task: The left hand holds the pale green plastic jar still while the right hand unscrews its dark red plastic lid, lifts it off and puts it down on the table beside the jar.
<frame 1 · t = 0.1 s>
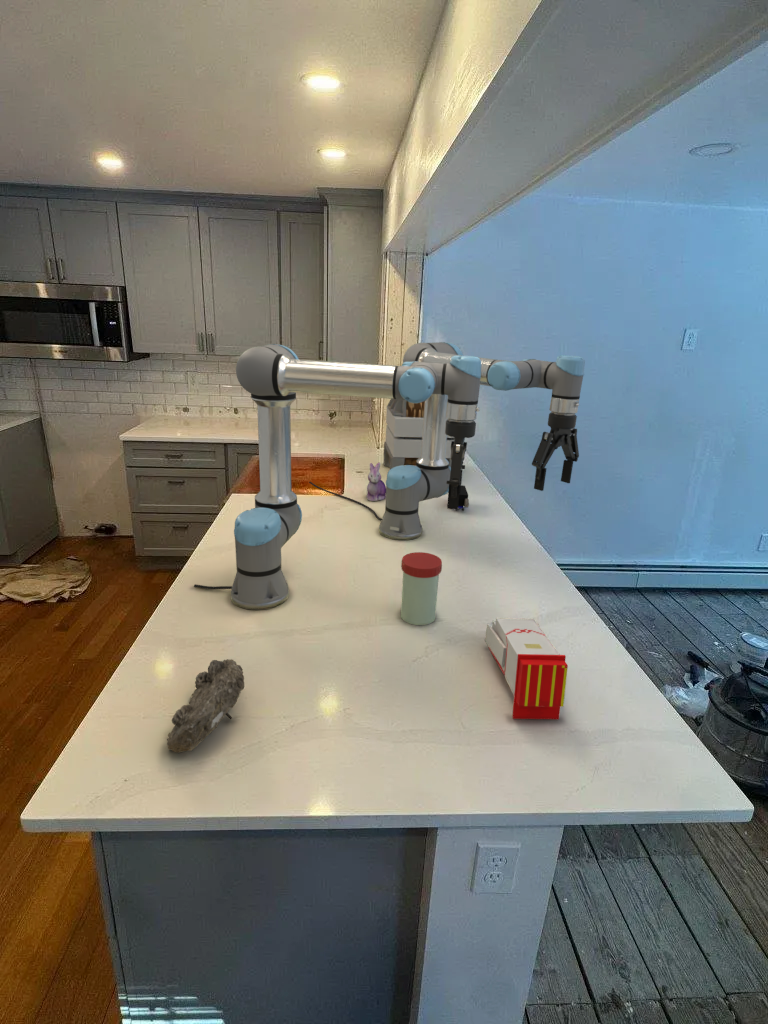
left hand: (453, 500, 149), 28 cm above the counter, tool pointing down, fingers open, 13 cm apart
right hand: (552, 485, 166), 28 cm above the counter, tool pointing down, fingers open, 13 cm apart
feather: (283, 517, 211), on the counter
toy: (517, 677, 124), on the counter
grey slatted crate: (419, 473, 275), on the counter
fossil: (212, 717, 108), on the counter
jar: (417, 616, 147), on the counter
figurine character: (458, 507, 230), on the counter
lid: (421, 561, 142), point 16 cm above the counter, screwed on, not yet turned
figurine: (375, 498, 236), on the counter
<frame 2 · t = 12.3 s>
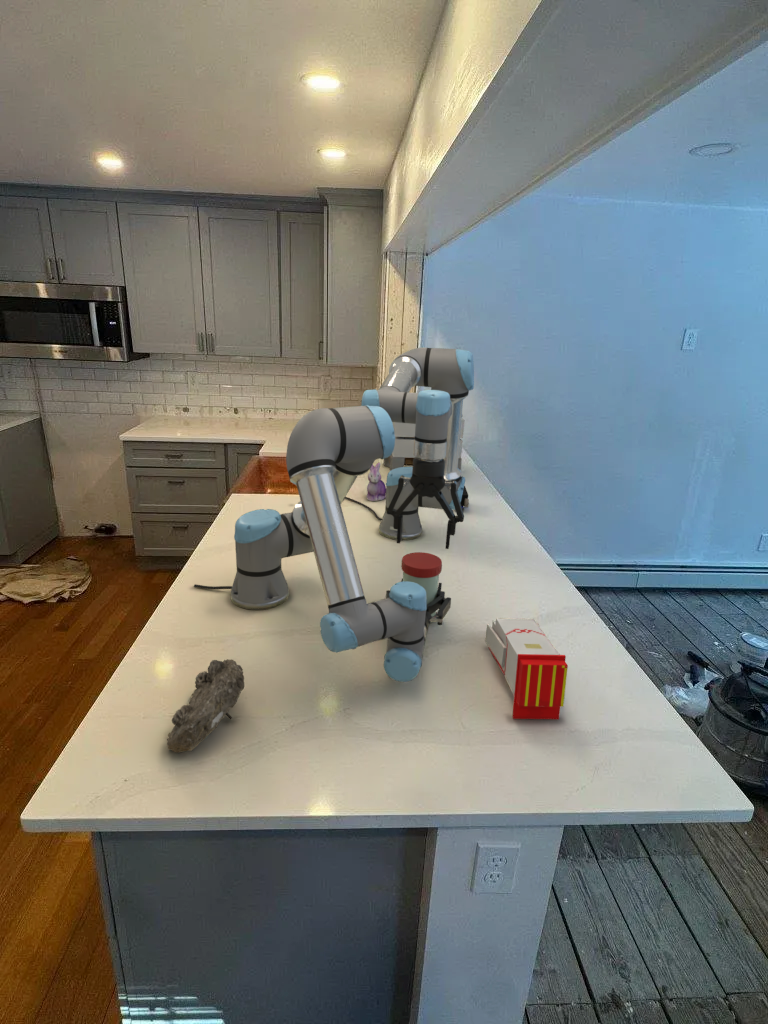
left hand: (421, 585, 149), 7 cm above the counter, tool horizontal, fingers closed on jar, 9 cm apart
right hand: (423, 544, 140), 20 cm above the counter, tool pointing down, fingers open, 11 cm apart
jar: (417, 616, 147), on the counter, touching left hand
everything else where it was.
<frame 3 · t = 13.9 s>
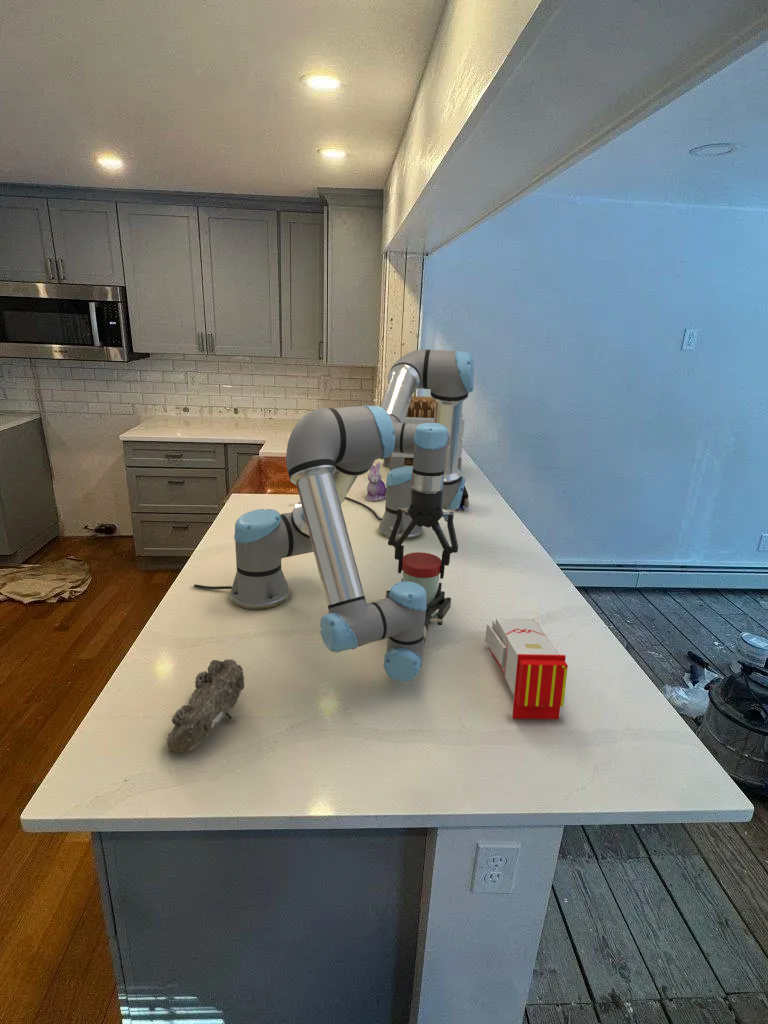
left hand: (421, 585, 149), 7 cm above the counter, tool horizontal, fingers closed on jar, 9 cm apart
right hand: (420, 573, 143), 12 cm above the counter, tool pointing down, fingers closed on lid, 10 cm apart
jar: (417, 616, 147), on the counter, touching left hand
lid: (421, 561, 142), point 16 cm above the counter, screwed on, not yet turned, touching right hand
everything else where it was.
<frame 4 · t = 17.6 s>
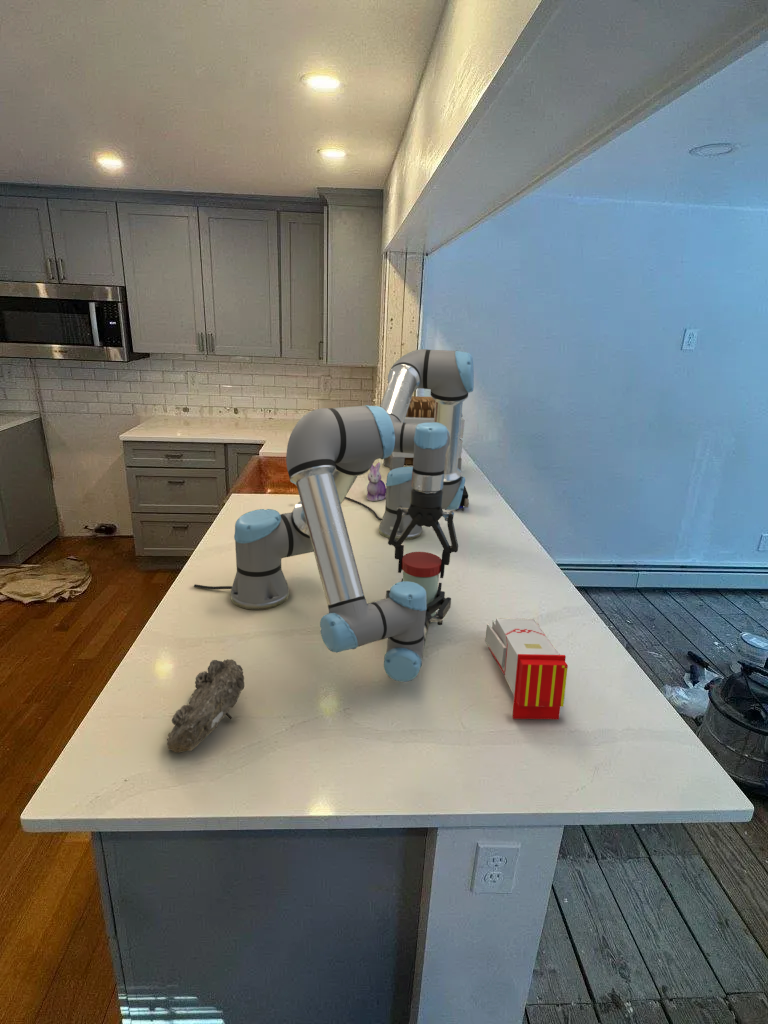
left hand: (421, 585, 149), 7 cm above the counter, tool horizontal, fingers closed on jar, 9 cm apart
right hand: (421, 573, 143), 12 cm above the counter, tool pointing down, fingers closed on lid, 10 cm apart
jar: (417, 616, 147), on the counter, touching left hand
lid: (421, 561, 142), point 16 cm above the counter, turned 126° so far, risen 0.2 cm, still on its thread, touching right hand
everything else where it was.
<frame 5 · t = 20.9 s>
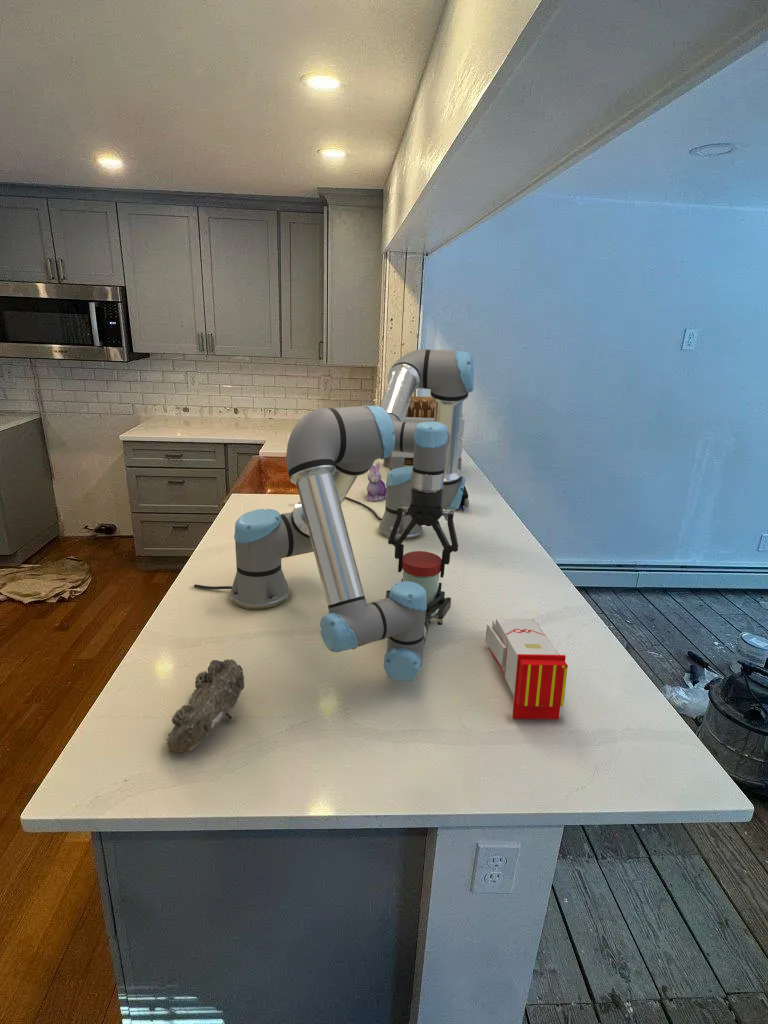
left hand: (421, 585, 149), 7 cm above the counter, tool horizontal, fingers closed on jar, 9 cm apart
right hand: (421, 572, 143), 13 cm above the counter, tool pointing down, fingers closed on lid, 10 cm apart
jar: (417, 616, 147), on the counter, touching left hand
lid: (421, 560, 142), point 16 cm above the counter, turned 252° so far, risen 0.3 cm, still on its thread, touching right hand
everything else where it was.
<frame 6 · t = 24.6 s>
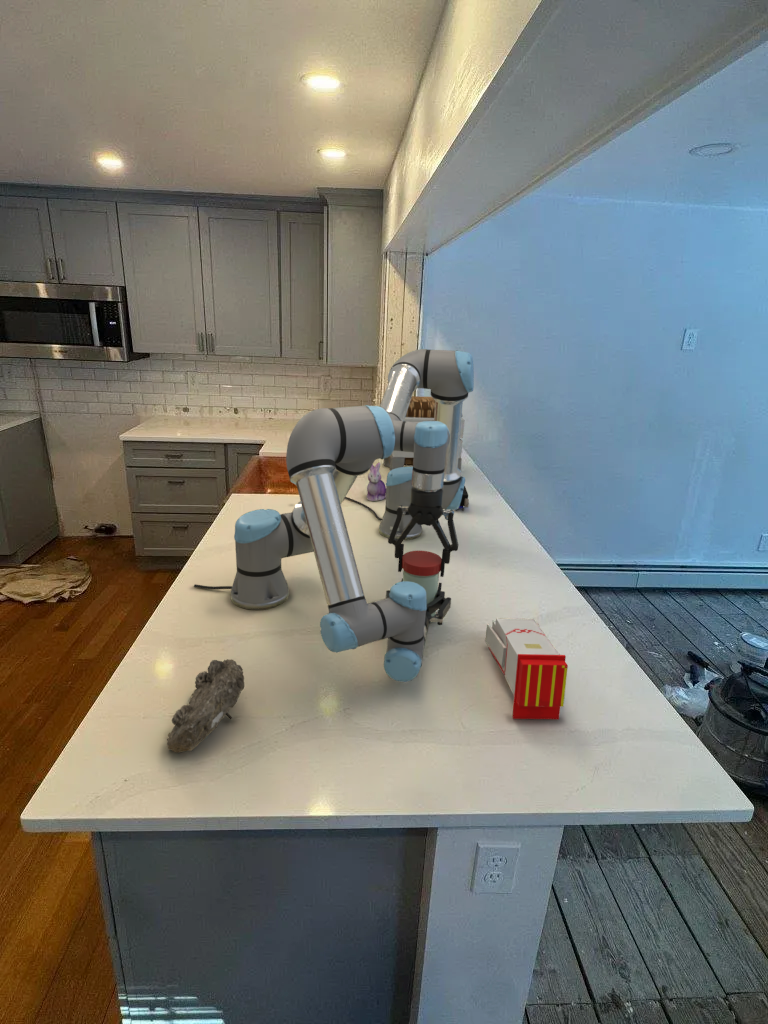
left hand: (421, 585, 149), 7 cm above the counter, tool horizontal, fingers closed on jar, 9 cm apart
right hand: (421, 572, 143), 13 cm above the counter, tool pointing down, fingers closed on lid, 10 cm apart
jar: (417, 616, 147), on the counter, touching left hand
lid: (422, 559, 141), point 16 cm above the counter, turned 378° so far, risen 0.5 cm, still on its thread, touching right hand
everything else where it was.
when the right hand's fingers open (0 cm above the counter, at t = 30.5 s): lid drops 1 cm, point 2 cm above the counter.
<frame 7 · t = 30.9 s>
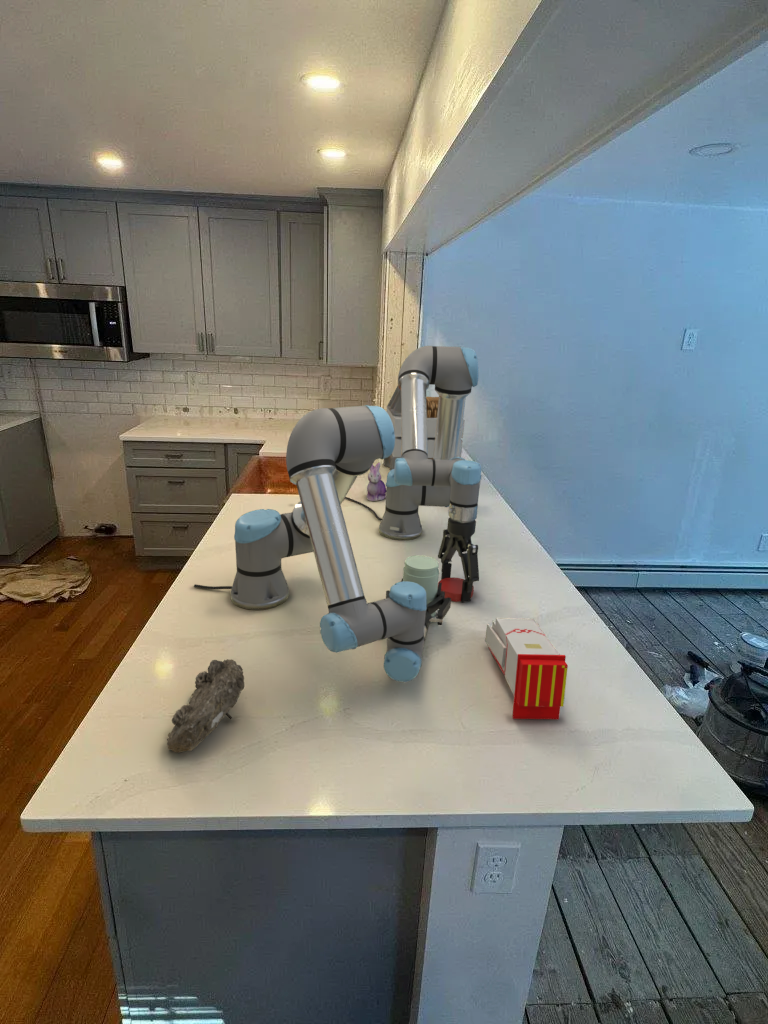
left hand: (421, 585, 149), 7 cm above the counter, tool horizontal, fingers closed on jar, 9 cm apart
right hand: (455, 592, 160), 0 cm above the counter, tool pointing down, fingers open, 10 cm apart
jar: (417, 616, 147), on the counter, touching left hand
lid: (455, 586, 159), point 2 cm above the counter, off its thread, touching right hand
everything else where it was.
when the left hand's fingers open (7 cm above the counter, at t = 32.1 s): jar stays where it is, on the counter.
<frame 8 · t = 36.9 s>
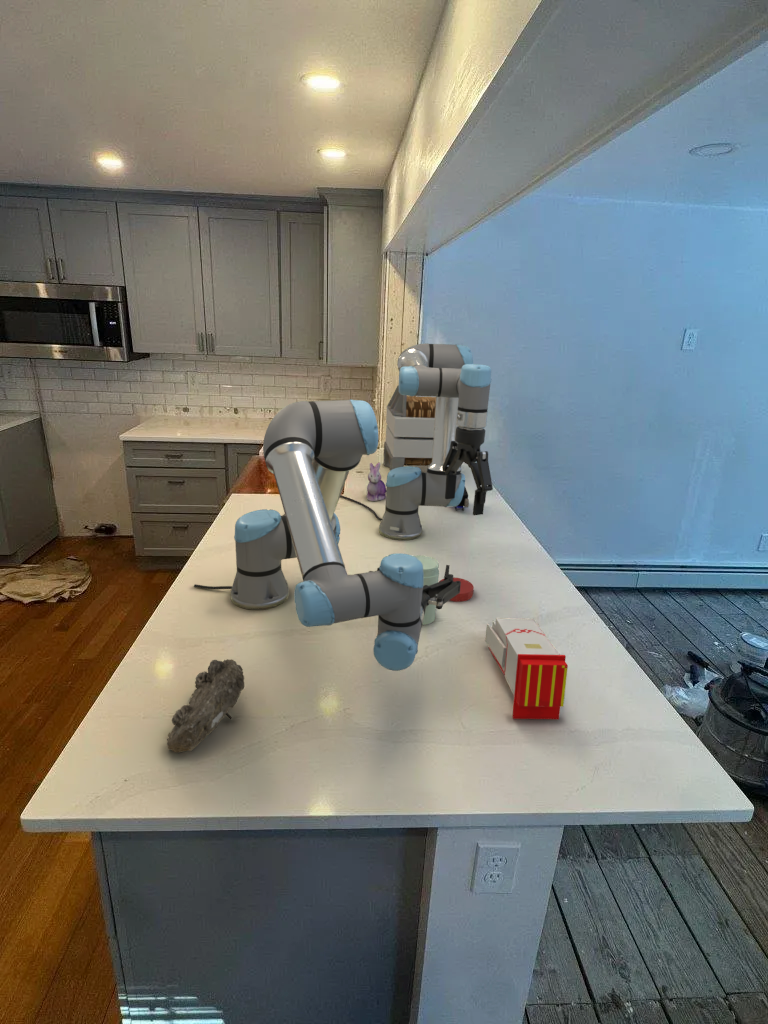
left hand: (418, 566, 131), 19 cm above the counter, tool horizontal, fingers open, 13 cm apart
right hand: (463, 506, 151), 26 cm above the counter, tool pointing down, fingers open, 13 cm apart
jar: (417, 616, 147), on the counter
lid: (455, 586, 159), point 2 cm above the counter, off its thread
everything else where it was.
at the end: lid came off its thread; lid point 2.1 cm above the counter; the left hand is holding nothing; the right hand is holding nothing; jar tilted 0°; jar moved 0.1 cm from its start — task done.
